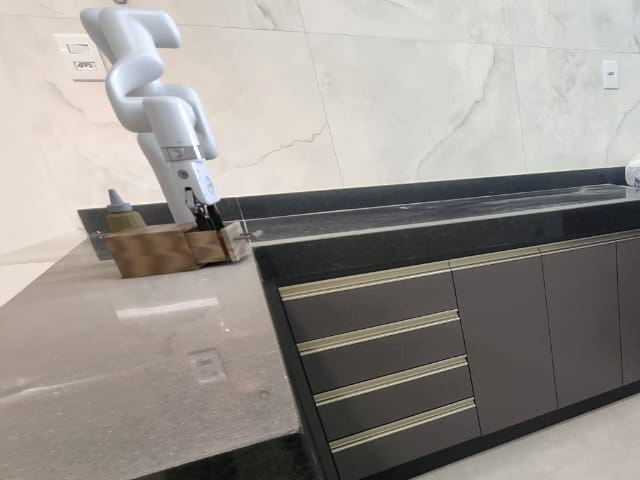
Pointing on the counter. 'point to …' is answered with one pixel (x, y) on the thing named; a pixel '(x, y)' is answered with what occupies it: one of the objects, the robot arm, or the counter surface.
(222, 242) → the block
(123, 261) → the cabinet
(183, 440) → the counter surface
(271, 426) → the counter surface
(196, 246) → the drawer
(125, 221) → the squeeze bottle
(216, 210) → the robot arm
